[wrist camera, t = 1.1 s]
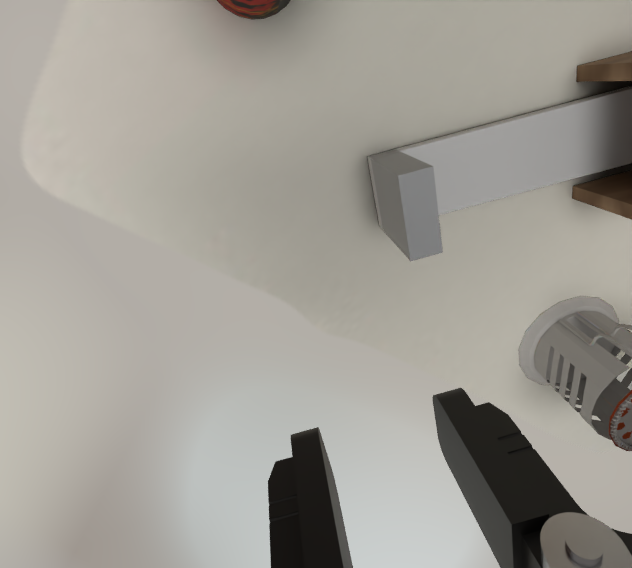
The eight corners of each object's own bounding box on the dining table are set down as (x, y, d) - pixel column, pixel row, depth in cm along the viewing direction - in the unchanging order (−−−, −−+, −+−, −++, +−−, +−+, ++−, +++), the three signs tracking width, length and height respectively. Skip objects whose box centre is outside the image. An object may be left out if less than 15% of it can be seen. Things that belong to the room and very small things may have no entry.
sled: (367, 156, 29) (398, 175, 23) (747, 54, 30) (879, 46, 24) (379, 226, 32) (410, 261, 25) (732, 130, 32) (849, 141, 26)
